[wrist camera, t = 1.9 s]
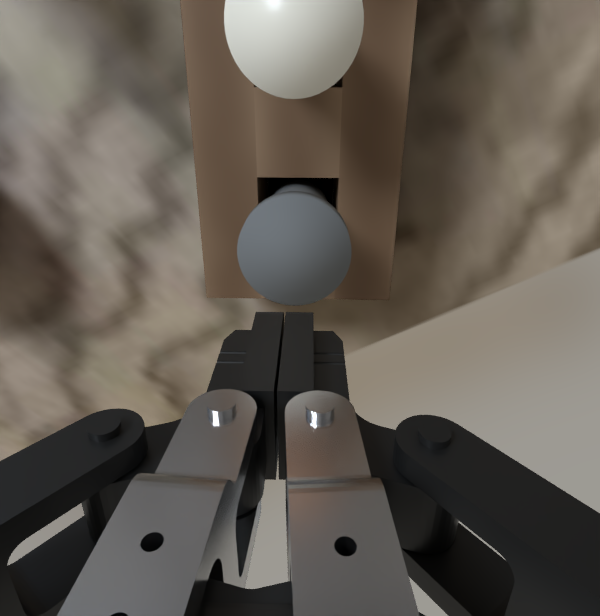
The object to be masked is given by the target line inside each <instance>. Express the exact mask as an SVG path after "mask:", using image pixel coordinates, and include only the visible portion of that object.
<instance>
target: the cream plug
mask: <svg viewBox="0 0 600 616" xmlns="http://www.w3.org/2000/svg"><path fill="white" fill-rule="evenodd" d="M224 26H225V34H226V39H227V43H228V46H229V49H230V52H231V54H232V56H233V58H234V60H235V62H236V64H237V65H238V67H239V68H240V70H241V71H242V72H243V74H244V75H245V76H246V77H247V78H248V79H249V80H250V81H251V82H252V83H253V84H254V85H256V86H257V87H258V88H260V89H261V90H263V91H265V92H267V93H269V94H271V95H274V96H277V97H281V98H286V99H303V98H307V97H312V96H314V95H317V94H320V93H321V92H323V91H325V90H327V89H328V88H330V87H331V86H333V85H334V84H335V83H336V82H337V81H338V80H339V79H341V78H342V76H343V75H344V74H345V73H346V71H347V70H348V69H349V67H350V66H351V64H352V62H353V60H354V58H355V56H356V54H357V52H358V49H359V46H360V43H361V38H362V34H363V26H364V10H363V2H362V0H225V8H224Z"/></svg>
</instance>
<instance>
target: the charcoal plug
mask: <svg viewBox="0 0 600 616" xmlns="http://www.w3.org/2000/svg"><path fill="white" fill-rule="evenodd" d="M237 256H238V262H239V266H240V269H241V271H242V274H243V275H244V277H245V279H246V280H247V282H248V283H249V284H250V286H251V287H252V288H253V289H254V290H255V291H257V292H258V293H259V294H260V295H262V296H264V297H265V298H267V299H269V300H271V301H273V302H277V303H280V304H285V305H294V306H295V305H306V304H310V303H314V302H316V301H319V300H321V299H323V298H325V297H326V296H328V295H329V294H331V293H332V292H333V291H334V290H335V289H336V288H337V287H338V286H339V285H340V284H341V282H342V281H343V279H344V278H345V276H346V274H347V272H348V269H349V266H350V262H351V242H350V237H349V233H348V229H347V226H346V224H345V222H344V220H343V218H342V216H341V215H340V213H339V212H338V211H337V210H336V209H335V208H334V207H333V206H332V205H331V204H330V203H329V202H327V199H326V197H325V195H324V193H323V192H322V191H321V190H320V189H319V188H318V187H317V186H316V185H314V184H312V183H310V182H307V181H303V180H294V181H290V182H287V183H285V184H283V185H281V186H280V187H279V188H278V189H277V190H276V191H275V192H274V194H273V195H272V196H270V197H268V198H266V199H265V200H263V201H262V202H260V203H259V204H258V205H257V206H256V207H255V208H254V209H253V210H252V211H251V213H250V214H249V216H248V217H247V219H246V221H245V223H244V225H243V227H242V230H241V232H240V235H239V238H238V244H237Z"/></svg>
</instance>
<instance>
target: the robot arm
mask: <svg viewBox="0 0 600 616" xmlns="http://www.w3.org/2000/svg"><path fill="white" fill-rule="evenodd" d="M278 458H279V479H283V480H286V526H287V556H288V557H287V558H288V582H284V583H280V584H275V585H272V586H267V587H262V588H258V589H245V584H246V580H247V575H248V571H249V565H250V561H251V556H252V551H253V547H254V542H255V537H256V532H257V528H258V523H259V518H260V513H261V498H262V495H263V490H264V481H265V479H274V480H275V479H276V471H277V460H278ZM80 503H82V507H83V511H84V514H85V515H84V516H83V517H82V518H80V519H79V520H77V521H76V522H74V523H73V524H71V525H70V526H68V527H67V528H65V529H64V530H62V531H61V532H59V533H58V534H56V535H55V536H53V537H52V538H50V539H49V540H47V541H46V542H44V543H43V544H41V545H40V546H38V547H37V548H35V549H34V550H32V551H31V552H29V553H28V554H26V555H25V556H23V557H22V558H20V559H19V560H18V561H16V562H14V563H13V564H10V565H8V566H7V563H8V559H9V557H10V555H11V553H12V552H13V550H14V549H15V548H16V547H17V546H18V545H19V544H20V543H21V542H22V541H23V540H25V539H26V538H28V537H29V536H31V535H32V534H34V533H35V532H37V531H38V530H40V529H42V528H43V527H45V526H46V525H48V524H49V523H51V522H52V521H54V520H55V519H57V518H58V517H60V516H62V515H63V514H65V513H66V512H68V511H69V510H71V509H72V508H74V507H76V506H77V505H78V504H80ZM458 521H460V522H462V523H463V524H464V525H465V526H467V527H468V528H469V529H470V530H472V531H473V532H474V533H475V534H477V535H478V536H479V537H481V538H482V539H483V540H484V541H485V542H487V543H488V544H489V545H491V546H492V547H493V548H494V549H495V550H497V551H498V552H499V553H500V554H501V555H502V556H503V557H504V558H505V559H506V560H504V559H503V558H502V557H500V556H499V555H498V554H497V553H496V552H494V551H493V550H492V549H491V548H489V547H488V546H487V545H486V544H484V543H483V542H482V541H481V540H479V539H478V538H477V537H476V536H474V535H473V534H472V533H471V532H469V531H468V530H467V529H466V528H464V527H463V526H462V525H461V524H460V523H458ZM409 577H410V578H411V579H412V580H413V581H414V582H415V583H417V585H418V586H419V587H420V588H421V589H422V590H423V591H424V592H425V593H426V594H427V595H428V596H429V597H430V598H431V599H432V600H433V601H434V602H435V603H436V604H437V605H438V606H439V607H440V608H441V609H442V610H444V612H445V613H446V614H447V615H449V616H600V513H598V512H596V511H595V510H593V509H592V508H590V507H589V506H587V505H585V504H584V503H582V502H581V501H579V500H577V499H576V498H574V497H573V496H571V495H569V494H568V493H566V492H565V491H563V490H561V489H560V488H558V487H557V486H555V485H554V484H552V483H550V482H548V481H547V480H546V479H544V478H542V477H541V476H539V475H537V474H536V473H534V472H533V471H531V470H530V469H528V468H526V467H525V466H523V465H522V464H520V463H518V462H517V461H515V460H514V459H512V458H510V457H509V456H507V455H505V454H504V453H502V452H501V451H499V450H498V449H496V448H495V447H493V446H491V445H490V444H488V443H486V442H485V441H483V440H482V439H480V438H479V437H477V436H475V435H474V434H472V433H471V432H469V431H467V430H466V429H464V428H463V427H461V426H459V425H458V424H456V423H454V422H452V421H450V420H448V419H445V418H442V417H438V416H432V415H417V416H412V417H409V418H407V419H405V420H403V421H402V422H401V423H400V424H399V425H398V427H397V428H396V430H393V429H389V428H385V427H381V426H378V425H375V424H372V423H369V422H368V421H366V420H364V419H363V418H361V417H360V416H359V415H357V413H355V410H354V407H353V406H352V404H351V403H350V402H349V392H348V384H347V375H346V368H345V359H344V350H343V341H342V340H341V339H340V338H339V337H338V336H337V335H336V334H335V333H334V332H333V331H313V313H301V312H286V316H285V325H284V312H256V314H255V318H254V322H253V326H252V330H235V331H234V332H233V333H231V334H230V335H229V336H228V337H227V338H226V339H224V342H223V345H222V348H221V351H220V354H219V357H218V360H217V363H216V365H215V368H214V371H213V374H212V377H211V380H210V383H209V386H208V389H207V392H206V393H204V394H202V395H200V396H198V397H197V398H195V399H194V400H193V401H192V402H191V403H190V404H189V406H188V408H187V410H186V412H185V414H184V416H183V418H182V419H179V420H176V421H173V422H169V423H165V424H160V425H155V426H150V427H145V426H144V421H143V419H142V417H141V416H140V415H139V414H137V413H136V412H134V411H131V410H127V409H108V410H103V411H99V412H96V413H93V414H91V415H89V416H86V417H84V418H82V419H81V420H79V421H77V422H75V423H73V424H71V425H69V426H67V427H65V428H63V429H61V430H59V431H57V432H56V433H54V434H52V435H50V436H48V437H46V438H44V439H42V440H40V441H38V442H36V443H34V444H32V445H31V446H29V447H27V448H25V449H23V450H21V451H19V452H17V453H15V454H13V455H11V456H9V457H7V458H5V459H4V460H2V461H0V616H425V615H423V614H421V613H420V612H418V609H417V605H416V602H415V598H414V594H413V591H412V587H411V584H410V580H409Z"/></svg>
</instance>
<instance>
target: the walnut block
mask: <svg viewBox="0 0 600 616" xmlns="http://www.w3.org/2000/svg"><path fill="white" fill-rule="evenodd" d="M362 2H363V10H364V26H363V34H362V38H361V43H360V46H359V49H358V52H357V54H356V56H355V58H354V60H353V62H352V64H351V66H350V67H349V69H348V70H347V71H346V73H345V74H344V75H343V76H342V78H341V79H339V80H338V81H337V82H336V86H331V87H330V88H328V89H327V90H325V91H323V92H321V93H320V94H317V95H314V96H312V97H307V98H303V99H286V98H281V97H277V96H274V95H271V94H269V93H267V92H265V91H263V90H261V89H260V88H258V87H257V86H256V85H254V84H253V83H252V82H251V81H250V80H249V79H248V78H247V77H246V76H245V75H244V74H243V72H242V71H241V70H240V68H239V67H238V65H237V64H236V62H235V60H234V58H233V56H232V54H231V52H230V49H229V46H228V43H227V39H226V34H225V26H224V8H225V0H180V4H181V15H182V26H183V38H184V49H185V60H186V71H187V82H188V93H189V105H190V116H191V127H192V138H193V149H194V160H195V172H196V183H197V194H198V205H199V216H200V227H201V239H202V250H203V261H204V272H205V283H206V294H207V298H265V297H264V296H262V295H260V294H259V293H258V292H257V291H255V290H254V289H253V288H252V287H251V286H250V284H249V283H248V282H247V280H246V279H245V277H244V275H243V274H242V271H241V269H240V266H239V262H238V256H237V244H238V238H239V235H240V232H241V230H242V227H243V225H244V223H245V221H246V219H247V217H248V216H249V214H250V213H251V211H252V210H253V209H254V208H255V207H256V206H257V205H258V204H259V203H260V202H262V201H263V200H265V199H266V198H268V177H281V178H333V202H332V206H333V207H334V208H335V209H336V210H337V211H338V212H339V213H340V215H341V216H342V218H343V220H344V222H345V224H346V226H347V229H348V233H349V237H350V242H351V262H350V266H349V269H348V272H347V274H346V276H345V278H344V279H343V281H342V282H341V284H340V285H339V286H338V287H337V288H336V289H335V290H334V291H333V292H332V293H331V294H329V295H328V296H326V297H325V298H323V299H356V300H389V299H390V288H391V277H392V267H393V256H394V245H395V235H396V224H397V213H398V203H399V192H400V181H401V171H402V160H403V149H404V139H405V128H406V117H407V107H408V96H409V85H410V75H411V64H412V53H413V43H414V32H415V21H416V11H417V0H362Z"/></svg>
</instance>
